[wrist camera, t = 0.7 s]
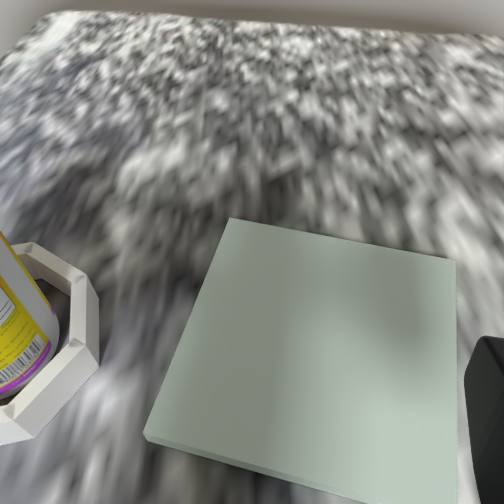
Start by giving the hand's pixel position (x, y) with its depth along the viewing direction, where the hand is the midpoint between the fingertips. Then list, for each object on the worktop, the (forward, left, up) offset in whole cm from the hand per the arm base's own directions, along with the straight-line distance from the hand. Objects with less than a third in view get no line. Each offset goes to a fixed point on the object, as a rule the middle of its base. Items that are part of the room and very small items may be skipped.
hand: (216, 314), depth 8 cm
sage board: (+8, +1, -16) cm, 18 cm away
